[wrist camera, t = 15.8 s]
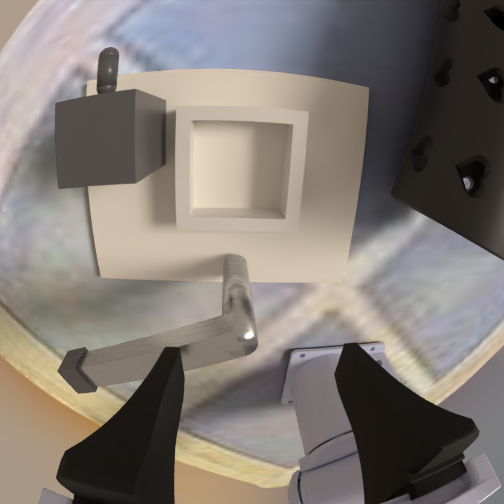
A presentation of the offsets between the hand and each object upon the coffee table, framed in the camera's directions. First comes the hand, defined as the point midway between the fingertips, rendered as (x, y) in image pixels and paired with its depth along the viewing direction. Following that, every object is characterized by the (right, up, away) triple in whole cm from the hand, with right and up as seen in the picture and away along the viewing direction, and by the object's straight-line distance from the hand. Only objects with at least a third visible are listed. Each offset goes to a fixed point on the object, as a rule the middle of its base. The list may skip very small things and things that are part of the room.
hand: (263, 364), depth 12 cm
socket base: (-2, +9, +6) cm, 11 cm away
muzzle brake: (+15, +21, +2) cm, 26 cm away
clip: (-6, +2, +8) cm, 10 cm away
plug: (-8, +13, +3) cm, 15 cm away
